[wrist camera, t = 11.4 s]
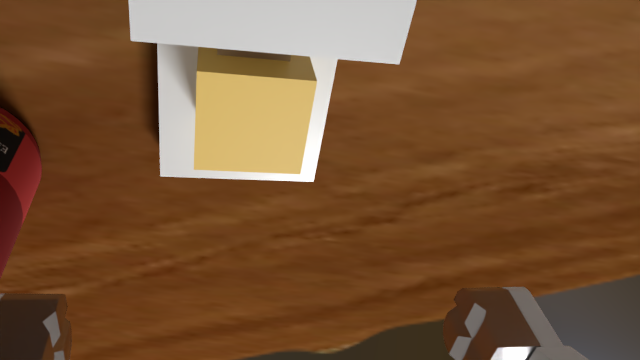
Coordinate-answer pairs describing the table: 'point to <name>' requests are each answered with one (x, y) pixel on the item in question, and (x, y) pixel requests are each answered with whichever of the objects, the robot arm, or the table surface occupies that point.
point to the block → (252, 113)
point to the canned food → (15, 179)
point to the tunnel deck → (259, 36)
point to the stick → (254, 54)
